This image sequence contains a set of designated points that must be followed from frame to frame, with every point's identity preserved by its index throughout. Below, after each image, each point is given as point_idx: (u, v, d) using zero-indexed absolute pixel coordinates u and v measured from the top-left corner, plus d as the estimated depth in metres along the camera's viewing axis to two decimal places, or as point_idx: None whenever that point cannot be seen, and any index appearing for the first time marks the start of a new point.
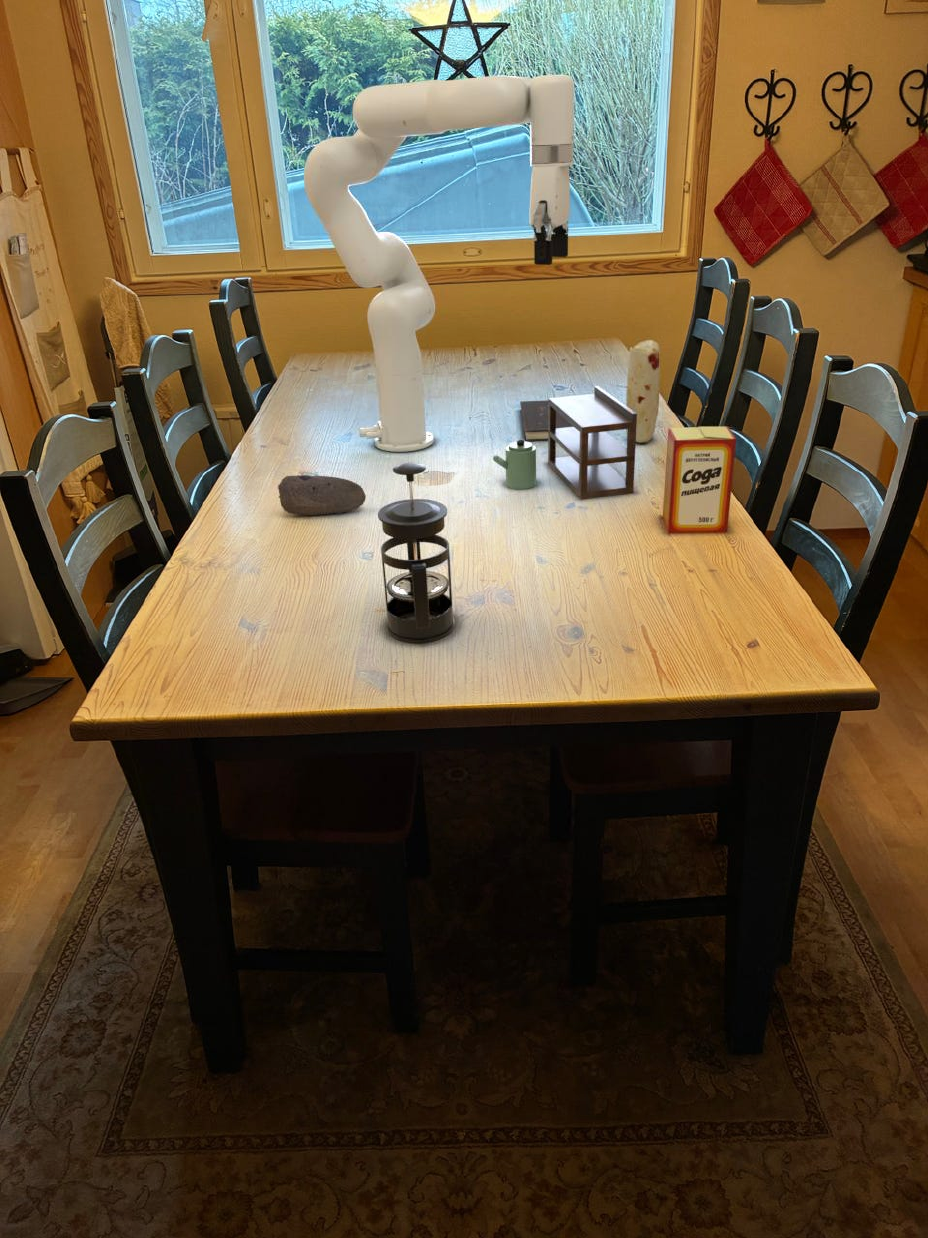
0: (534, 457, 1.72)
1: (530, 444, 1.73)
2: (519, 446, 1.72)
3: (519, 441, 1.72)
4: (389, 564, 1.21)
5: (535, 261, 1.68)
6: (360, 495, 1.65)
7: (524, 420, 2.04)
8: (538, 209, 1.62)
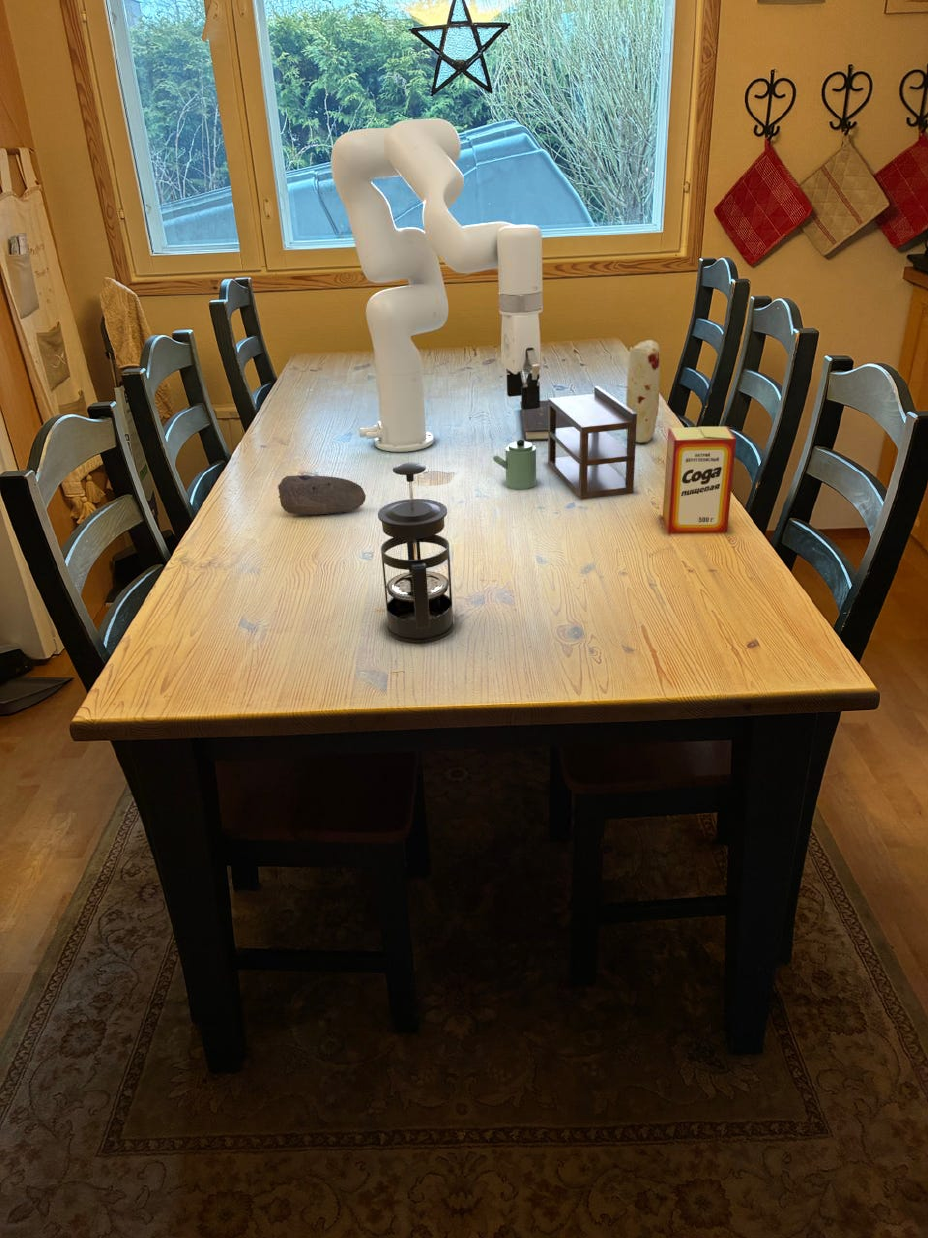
0: (534, 457, 1.72)
1: (530, 444, 1.73)
2: (519, 446, 1.72)
3: (519, 441, 1.72)
4: (389, 564, 1.21)
5: (523, 406, 1.64)
6: (360, 495, 1.65)
7: (524, 420, 2.04)
8: (531, 357, 1.59)
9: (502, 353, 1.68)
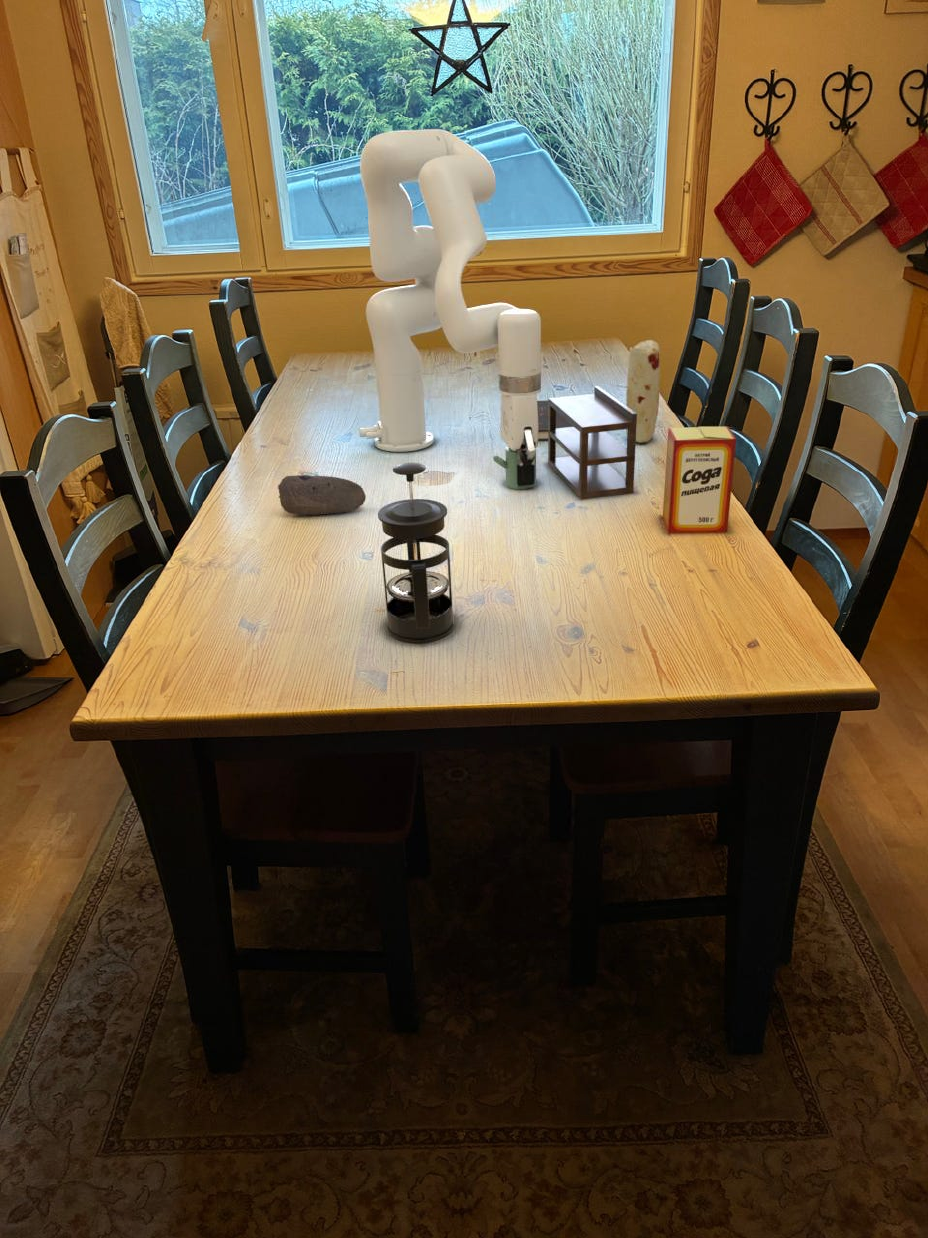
0: None
1: None
2: None
3: None
4: (389, 564, 1.21)
5: (518, 483, 1.72)
6: (360, 495, 1.65)
7: None
8: (528, 442, 1.66)
9: (501, 427, 1.74)
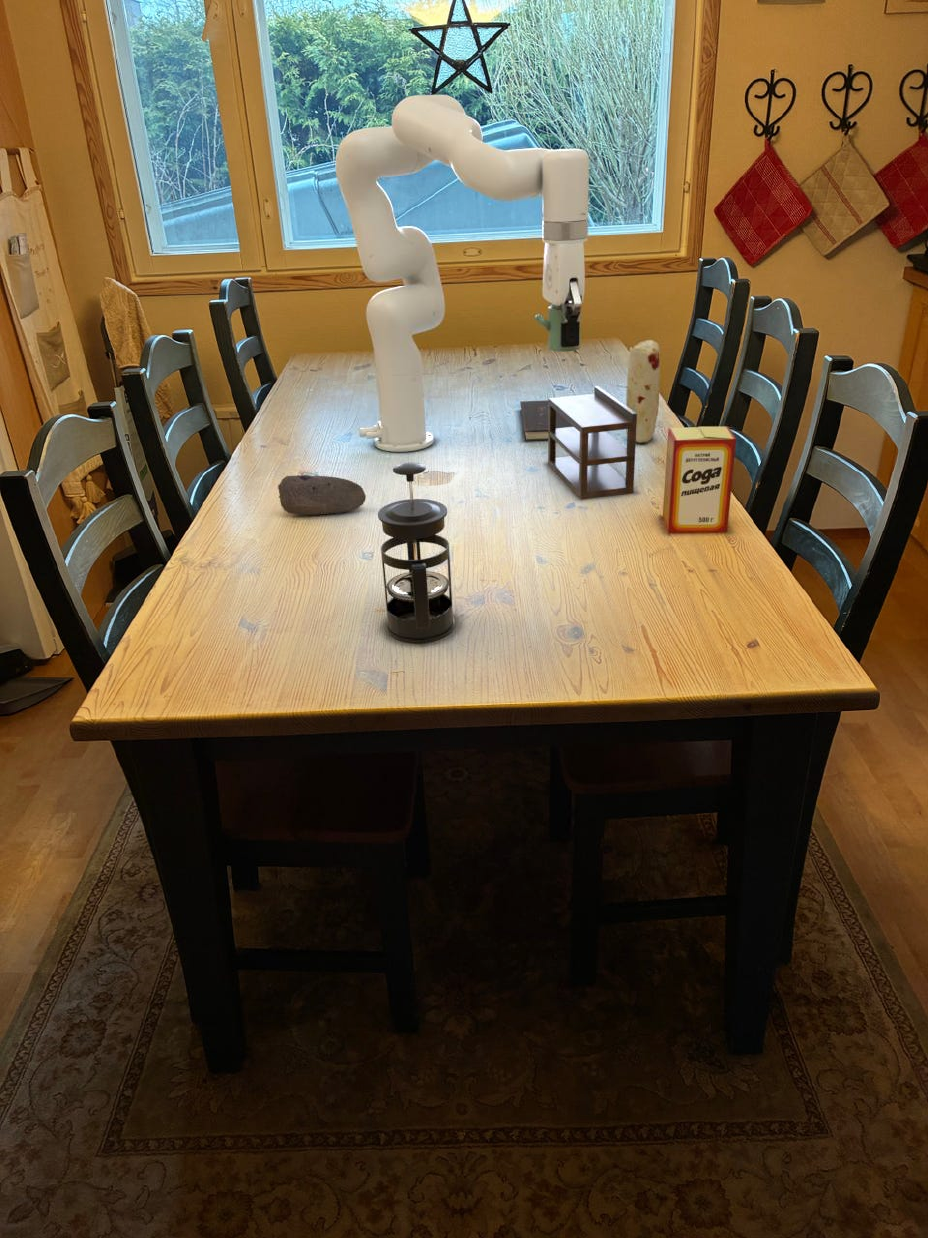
0: None
1: None
2: None
3: None
4: (389, 564, 1.21)
5: (562, 344, 1.61)
6: (360, 495, 1.65)
7: (524, 420, 2.04)
8: (574, 294, 1.55)
9: (544, 286, 1.63)
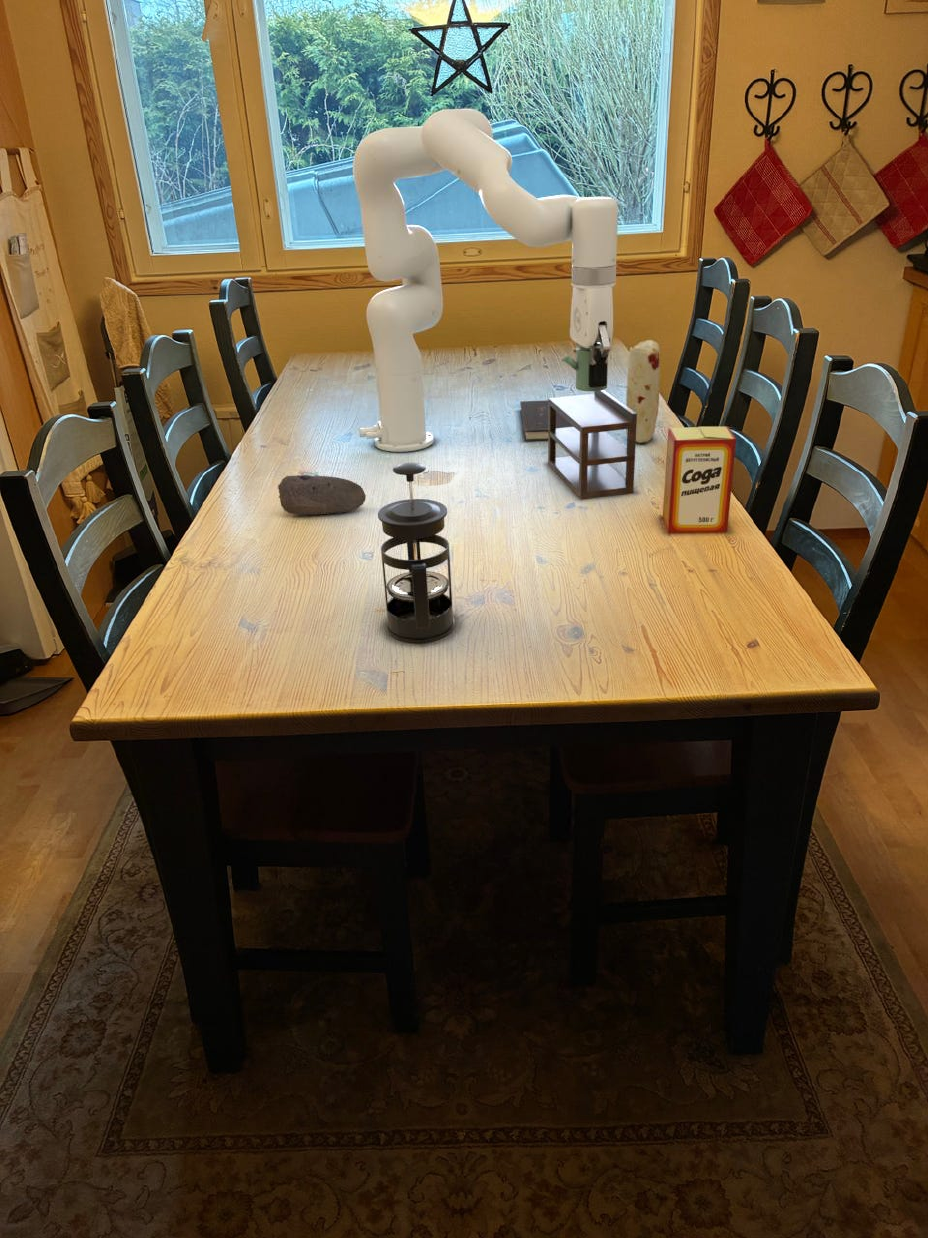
0: None
1: None
2: None
3: None
4: (389, 564, 1.21)
5: (590, 384, 1.65)
6: (360, 495, 1.65)
7: (524, 420, 2.04)
8: (603, 337, 1.59)
9: (571, 327, 1.67)
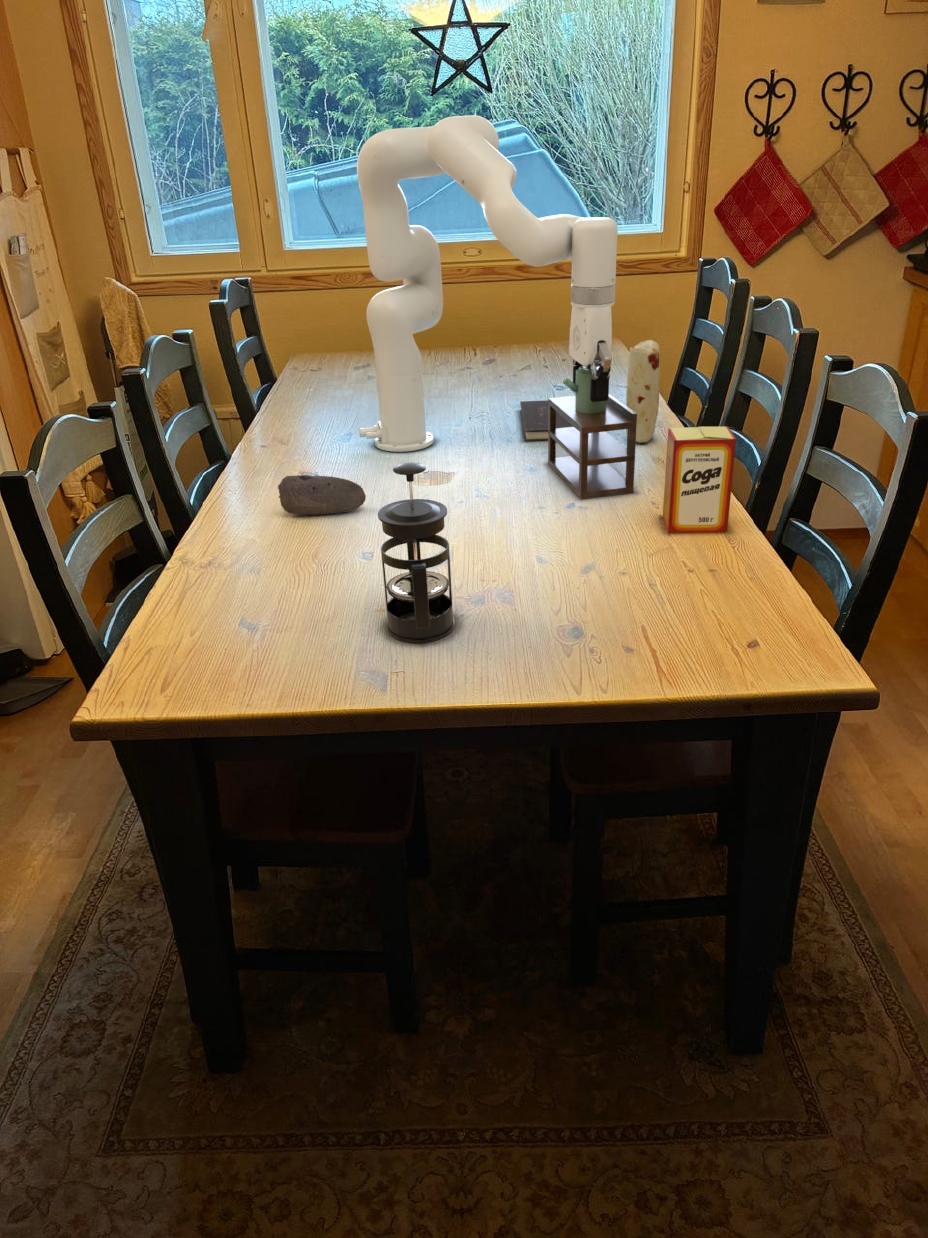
0: None
1: None
2: (590, 368, 1.67)
3: None
4: (389, 564, 1.21)
5: (592, 399, 1.65)
6: (360, 495, 1.65)
7: (524, 420, 2.04)
8: (603, 350, 1.60)
9: (571, 345, 1.68)
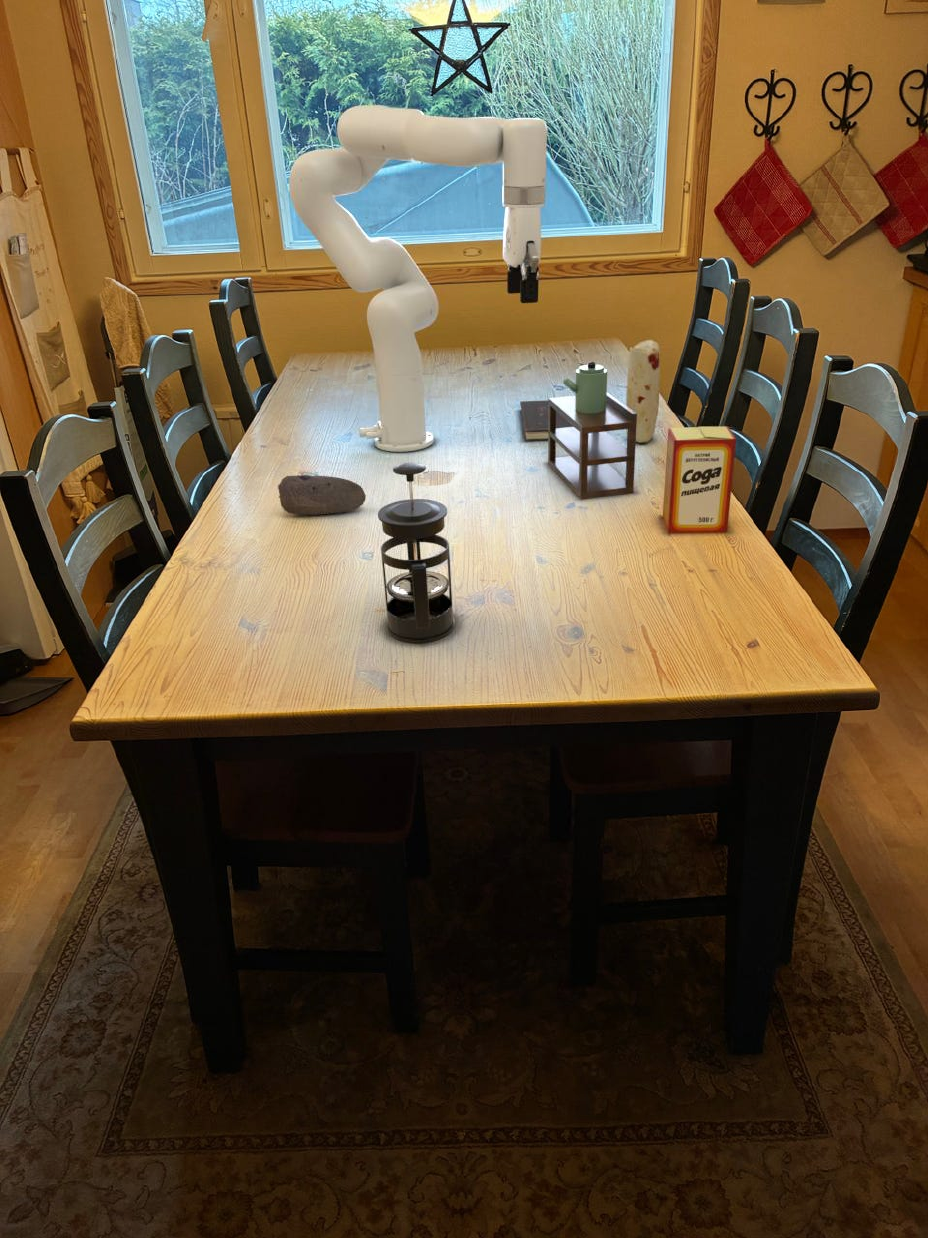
0: (605, 380, 1.68)
1: (601, 366, 1.68)
2: (590, 368, 1.67)
3: (590, 363, 1.67)
4: (389, 564, 1.21)
5: (522, 300, 1.70)
6: (360, 495, 1.65)
7: (524, 420, 2.04)
8: (531, 249, 1.64)
9: (504, 248, 1.73)
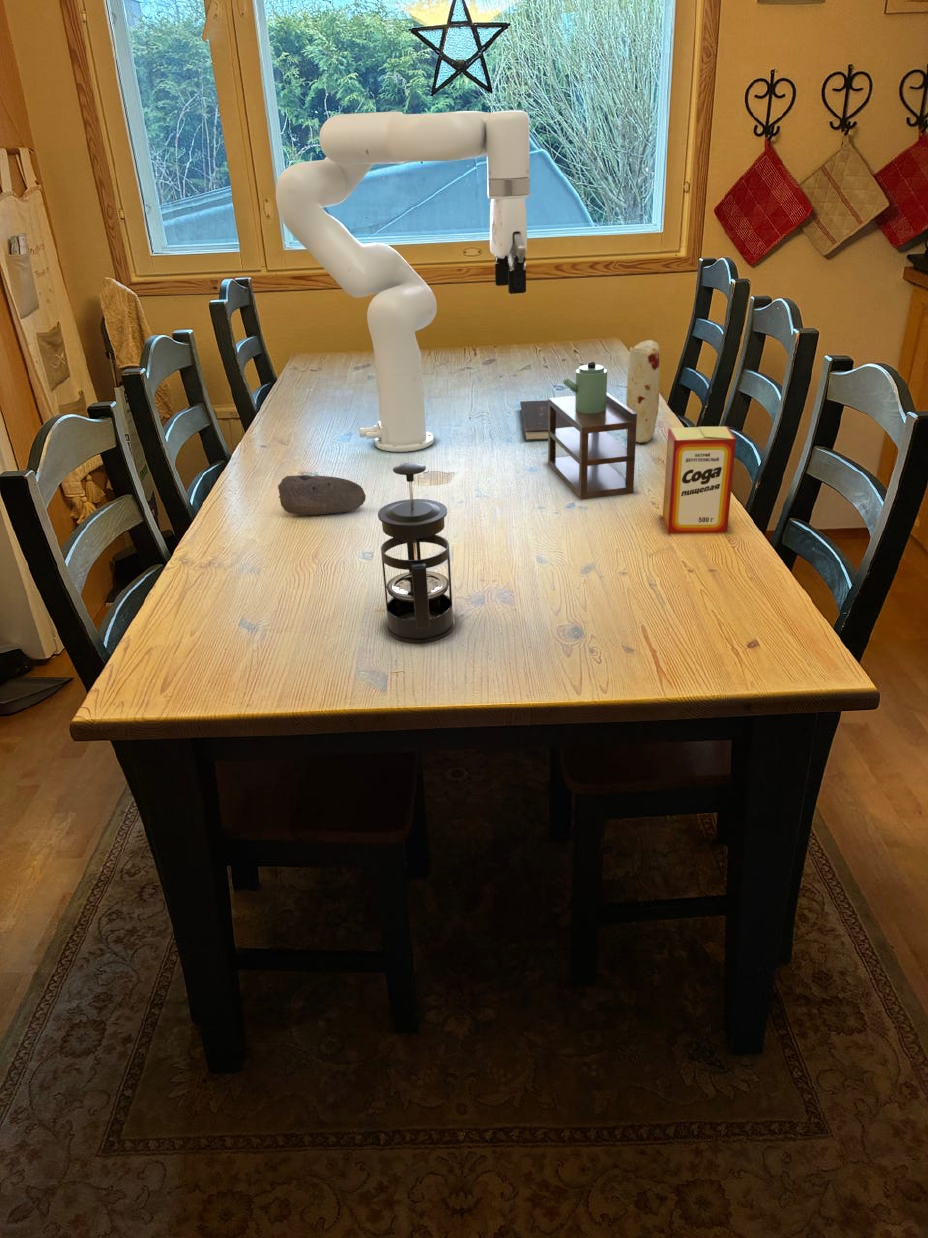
0: (605, 380, 1.68)
1: (601, 366, 1.68)
2: (590, 368, 1.67)
3: (590, 363, 1.67)
4: (389, 564, 1.21)
5: (510, 290, 1.71)
6: (360, 495, 1.65)
7: (524, 420, 2.04)
8: (518, 240, 1.66)
9: (490, 241, 1.74)
